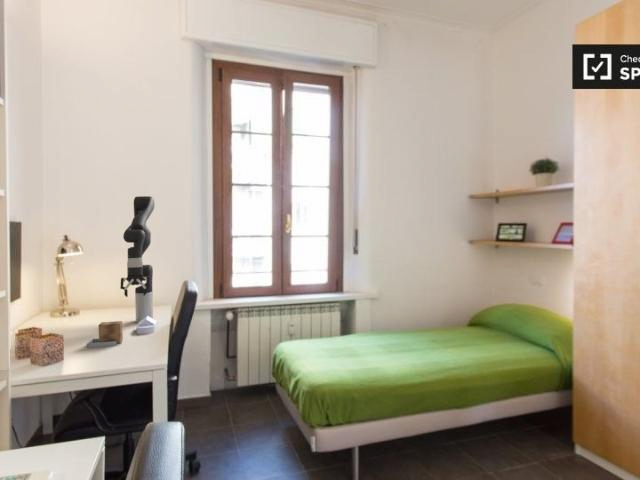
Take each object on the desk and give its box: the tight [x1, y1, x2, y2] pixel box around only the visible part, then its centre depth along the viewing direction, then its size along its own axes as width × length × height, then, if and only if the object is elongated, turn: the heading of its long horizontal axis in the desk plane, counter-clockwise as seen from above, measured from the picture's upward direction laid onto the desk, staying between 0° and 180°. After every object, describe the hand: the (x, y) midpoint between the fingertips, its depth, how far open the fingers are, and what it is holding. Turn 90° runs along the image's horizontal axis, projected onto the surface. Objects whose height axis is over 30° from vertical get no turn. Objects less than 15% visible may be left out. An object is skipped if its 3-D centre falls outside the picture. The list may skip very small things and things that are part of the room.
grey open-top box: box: [86, 337, 118, 349], centre depth 178 cm, size 12×8×2 cm, turn 107°
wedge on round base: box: [136, 316, 157, 335], centre depth 201 cm, size 9×7×13 cm
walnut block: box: [98, 320, 124, 345], centre depth 179 cm, size 9×5×10 cm, turn 107°
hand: (135, 296), depth 204 cm, fingers open, 8 cm apart
